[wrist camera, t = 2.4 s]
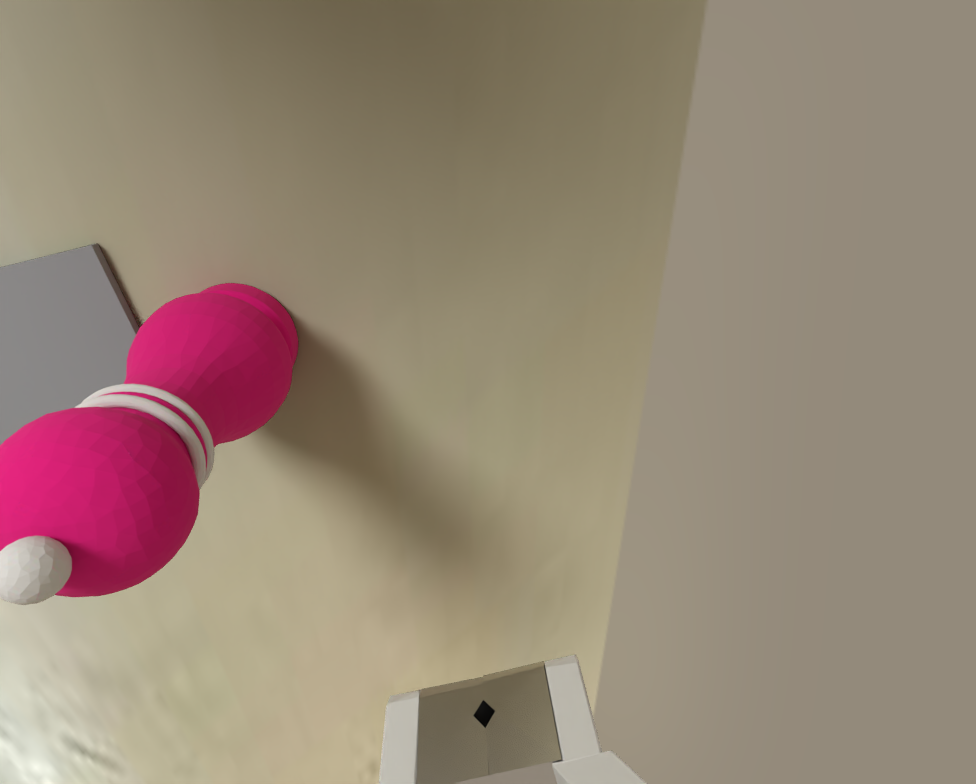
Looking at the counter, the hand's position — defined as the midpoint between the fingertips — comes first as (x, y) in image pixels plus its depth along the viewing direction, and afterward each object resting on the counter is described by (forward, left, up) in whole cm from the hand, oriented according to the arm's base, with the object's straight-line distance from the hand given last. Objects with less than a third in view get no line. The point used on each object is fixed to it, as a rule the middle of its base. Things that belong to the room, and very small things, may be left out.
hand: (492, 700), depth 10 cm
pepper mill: (-4, -11, -26) cm, 29 cm away
